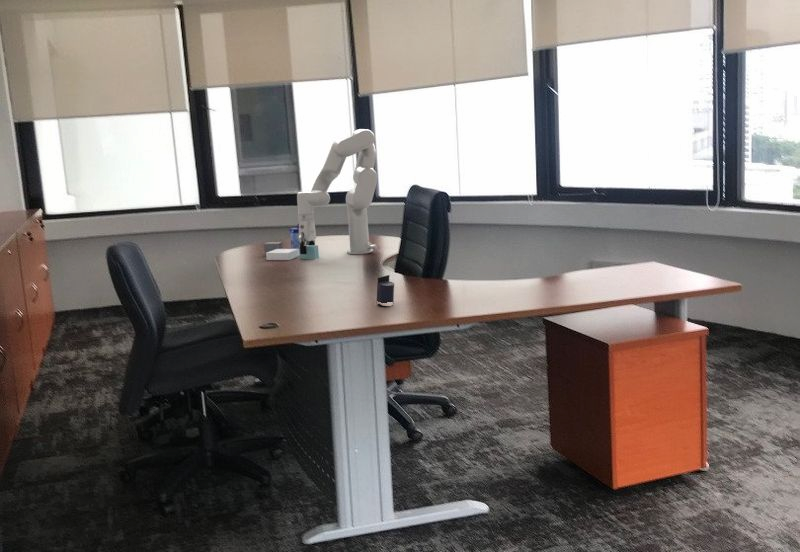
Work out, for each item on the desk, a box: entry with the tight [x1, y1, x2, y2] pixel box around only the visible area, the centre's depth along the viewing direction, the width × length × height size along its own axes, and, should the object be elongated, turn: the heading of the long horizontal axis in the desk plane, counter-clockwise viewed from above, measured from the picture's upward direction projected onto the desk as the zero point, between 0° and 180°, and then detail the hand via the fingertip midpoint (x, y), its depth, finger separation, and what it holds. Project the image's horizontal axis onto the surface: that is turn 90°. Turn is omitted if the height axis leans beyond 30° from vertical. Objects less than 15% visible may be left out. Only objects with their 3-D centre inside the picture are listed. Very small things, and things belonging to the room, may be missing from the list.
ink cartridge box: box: [289, 223, 309, 249], centre depth 460 cm, size 10×6×14 cm, turn 121°
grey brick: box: [263, 241, 284, 256], centre depth 456 cm, size 8×4×6 cm, turn 71°
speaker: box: [376, 274, 395, 303], centre depth 324 cm, size 8×6×10 cm
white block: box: [265, 248, 300, 261], centre depth 444 cm, size 12×12×4 cm
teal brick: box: [299, 244, 320, 260], centre depth 439 cm, size 8×4×6 cm, turn 71°
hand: (307, 252), depth 439 cm, fingers open, 9 cm apart
